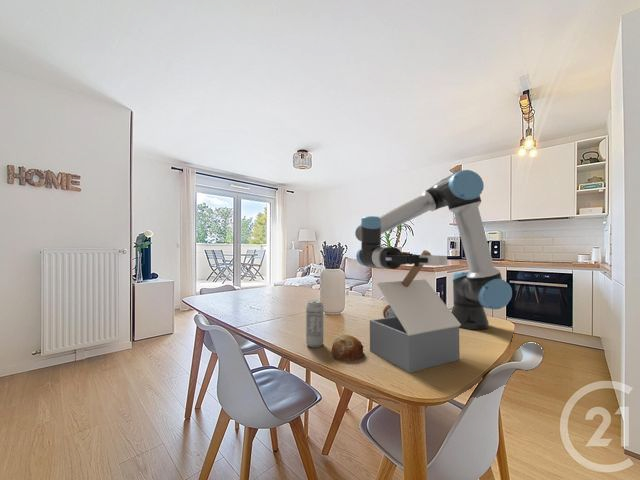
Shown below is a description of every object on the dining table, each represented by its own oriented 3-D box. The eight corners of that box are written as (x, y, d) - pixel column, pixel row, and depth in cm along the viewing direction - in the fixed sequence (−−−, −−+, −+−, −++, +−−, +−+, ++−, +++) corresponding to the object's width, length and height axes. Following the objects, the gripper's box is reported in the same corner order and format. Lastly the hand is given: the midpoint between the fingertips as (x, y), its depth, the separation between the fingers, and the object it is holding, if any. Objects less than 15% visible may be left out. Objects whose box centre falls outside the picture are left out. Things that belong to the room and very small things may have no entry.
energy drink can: (325, 342, 100) (325, 300, 100) (320, 348, 94) (320, 304, 94) (309, 341, 101) (309, 299, 102) (303, 347, 95) (303, 303, 96)
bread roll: (336, 359, 94) (326, 337, 94) (364, 346, 94) (353, 324, 94) (337, 372, 84) (326, 348, 85) (368, 358, 84) (356, 334, 84)
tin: (417, 323, 126) (416, 304, 126) (418, 324, 123) (418, 305, 123) (383, 322, 127) (382, 303, 127) (383, 324, 124) (383, 305, 124)
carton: (415, 341, 101) (415, 313, 101) (459, 359, 85) (459, 326, 85) (369, 350, 92) (369, 320, 92) (409, 372, 76) (409, 335, 76)
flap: (424, 280, 97) (447, 249, 89) (459, 326, 85) (491, 294, 76) (377, 284, 89) (398, 250, 80) (408, 335, 76) (437, 301, 67)
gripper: (404, 267, 103) (461, 272, 82) (369, 269, 96) (422, 275, 75) (404, 247, 103) (460, 247, 82) (369, 247, 96) (421, 247, 75)
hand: (442, 260), depth 79 cm, fingers closed on flap, 2 cm apart
